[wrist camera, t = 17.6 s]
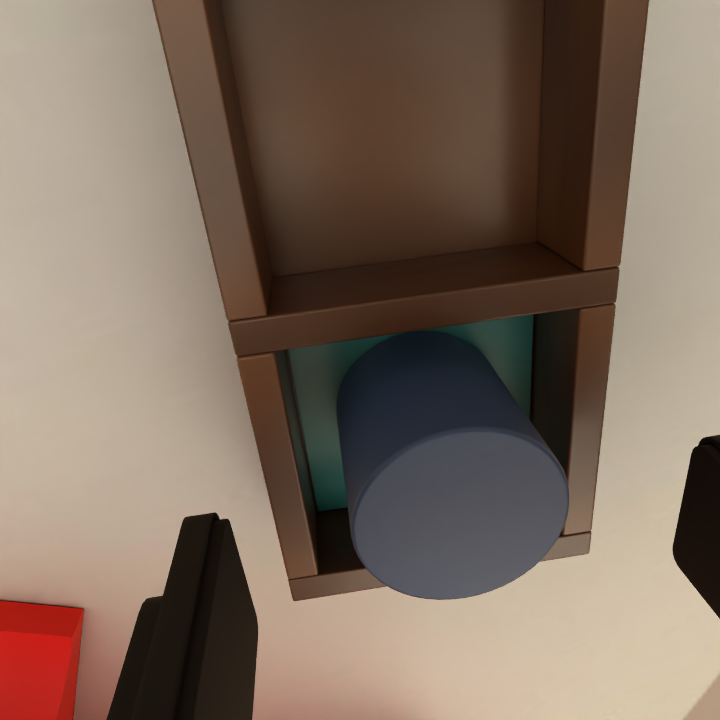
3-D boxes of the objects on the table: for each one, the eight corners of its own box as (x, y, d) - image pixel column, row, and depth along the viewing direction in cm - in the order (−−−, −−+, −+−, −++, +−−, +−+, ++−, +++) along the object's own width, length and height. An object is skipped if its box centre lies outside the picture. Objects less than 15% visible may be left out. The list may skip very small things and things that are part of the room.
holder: (165, -91, 11) (113, -158, 8) (571, -133, 11) (674, -215, 8) (293, 515, 17) (293, 602, 14) (541, 476, 18) (589, 554, 15)
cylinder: (325, 343, 14) (337, 448, 10) (497, 318, 14) (579, 411, 10) (346, 481, 16) (363, 616, 12) (496, 458, 16) (564, 583, 12)
